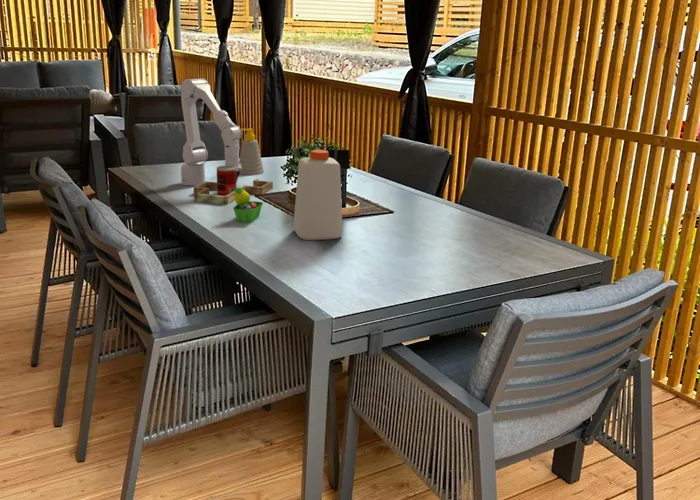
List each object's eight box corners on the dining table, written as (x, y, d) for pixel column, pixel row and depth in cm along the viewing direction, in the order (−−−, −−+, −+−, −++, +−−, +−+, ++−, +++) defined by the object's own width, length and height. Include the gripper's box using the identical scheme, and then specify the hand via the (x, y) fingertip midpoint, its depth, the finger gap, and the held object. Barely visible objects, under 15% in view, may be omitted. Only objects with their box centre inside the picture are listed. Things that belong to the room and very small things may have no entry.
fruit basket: (253, 224, 231) (252, 192, 227) (229, 221, 232) (228, 190, 229) (263, 215, 241) (263, 185, 238) (240, 213, 243) (240, 183, 239)
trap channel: (182, 200, 258) (182, 192, 257) (218, 182, 289) (218, 175, 288) (244, 206, 252) (244, 198, 251) (274, 187, 284) (274, 180, 283)
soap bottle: (234, 170, 314) (233, 127, 308) (259, 169, 319) (259, 126, 313) (241, 175, 303) (240, 131, 297) (267, 174, 308) (267, 130, 302)
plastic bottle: (299, 241, 214) (301, 155, 205) (291, 228, 227) (292, 147, 218) (345, 239, 218) (348, 155, 209) (333, 226, 231) (336, 146, 222)
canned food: (238, 192, 273) (238, 166, 269) (234, 197, 265) (233, 170, 262) (220, 191, 273) (219, 165, 270) (215, 196, 266) (214, 169, 262)
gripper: (234, 159, 263) (234, 193, 267) (247, 153, 276) (248, 185, 280) (217, 158, 264) (218, 191, 269) (232, 152, 278) (232, 184, 282)
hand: (232, 188), depth 275 cm, fingers closed
